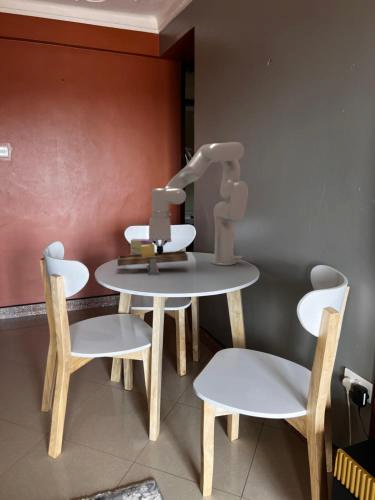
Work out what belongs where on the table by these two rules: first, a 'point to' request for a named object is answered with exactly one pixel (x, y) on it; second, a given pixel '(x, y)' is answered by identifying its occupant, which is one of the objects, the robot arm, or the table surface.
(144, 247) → the block
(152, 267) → the stand
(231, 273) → the table surface
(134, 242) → the box
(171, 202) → the robot arm
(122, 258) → the beam
